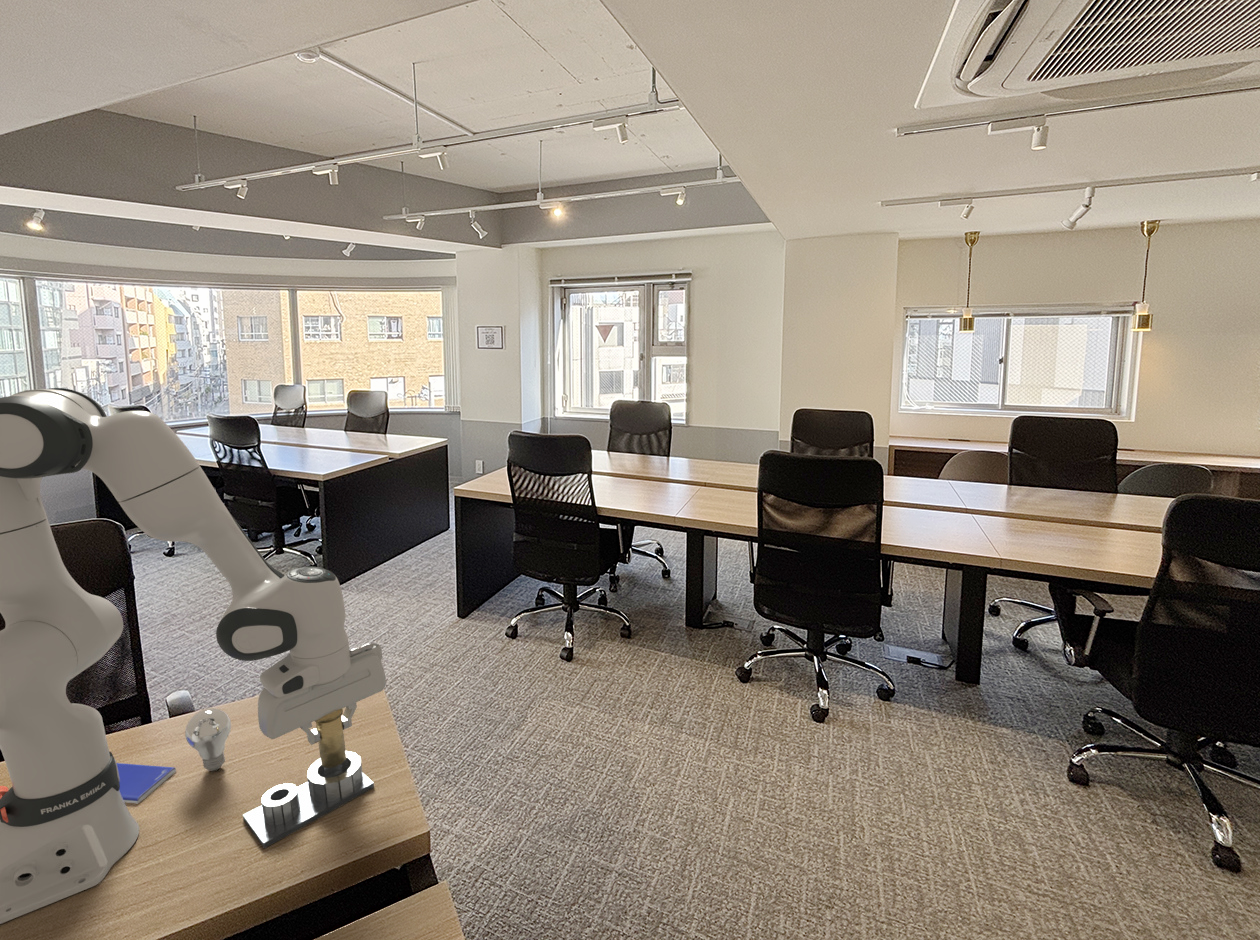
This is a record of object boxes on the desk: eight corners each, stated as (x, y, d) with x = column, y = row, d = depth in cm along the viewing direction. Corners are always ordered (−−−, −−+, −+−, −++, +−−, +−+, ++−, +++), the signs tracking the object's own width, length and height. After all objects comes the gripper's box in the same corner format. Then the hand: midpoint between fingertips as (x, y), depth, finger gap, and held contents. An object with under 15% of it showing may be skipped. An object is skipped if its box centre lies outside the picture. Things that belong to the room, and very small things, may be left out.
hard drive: (175, 766, 118) (114, 761, 119) (137, 798, 110) (72, 792, 111) (176, 773, 118) (115, 768, 119) (138, 806, 110) (73, 800, 111)
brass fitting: (326, 772, 109) (319, 720, 106) (314, 761, 112) (307, 709, 109) (352, 759, 112) (346, 708, 110) (340, 748, 115) (334, 698, 113)
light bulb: (216, 784, 114) (205, 725, 112) (183, 779, 116) (172, 720, 113) (246, 759, 121) (237, 702, 118) (214, 754, 122) (205, 698, 120)
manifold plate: (264, 848, 100) (260, 824, 99) (243, 819, 106) (239, 796, 105) (374, 787, 113) (371, 765, 112) (350, 764, 119) (347, 743, 118)
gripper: (371, 633, 117) (378, 701, 120) (248, 679, 102) (260, 755, 105) (389, 644, 113) (395, 714, 116) (263, 693, 98) (275, 772, 101)
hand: (330, 734), depth 111 cm, fingers closed on brass fitting, 4 cm apart
